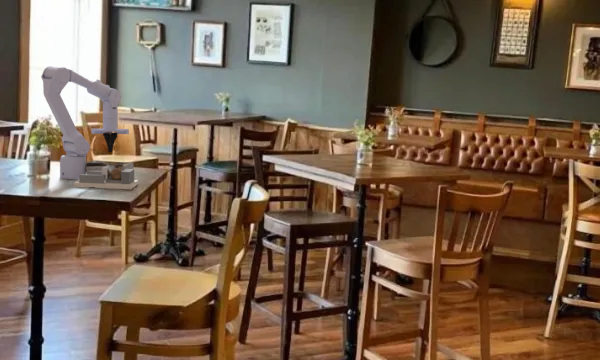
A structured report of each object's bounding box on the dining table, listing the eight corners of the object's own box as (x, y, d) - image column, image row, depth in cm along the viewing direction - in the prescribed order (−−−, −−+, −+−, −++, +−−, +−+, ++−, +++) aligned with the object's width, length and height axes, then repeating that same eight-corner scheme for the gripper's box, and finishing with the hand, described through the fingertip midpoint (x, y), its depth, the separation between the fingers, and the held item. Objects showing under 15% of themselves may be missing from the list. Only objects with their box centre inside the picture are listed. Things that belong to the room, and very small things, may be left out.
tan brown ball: (108, 182, 280) (108, 168, 279) (111, 180, 285) (112, 166, 284) (122, 183, 280) (122, 169, 279) (125, 181, 285) (125, 167, 284)
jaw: (101, 179, 278) (101, 168, 278) (107, 175, 286) (107, 165, 286) (107, 179, 278) (107, 168, 278) (113, 176, 286) (113, 165, 286)
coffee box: (125, 165, 292) (85, 162, 294) (125, 181, 294) (85, 179, 296) (133, 162, 301) (94, 159, 303) (133, 178, 302) (94, 175, 304)
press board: (73, 186, 277) (73, 170, 276) (83, 181, 289) (83, 166, 288) (130, 189, 277) (130, 173, 276) (138, 184, 289) (138, 168, 288)
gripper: (92, 118, 299) (92, 153, 301) (129, 119, 304) (129, 153, 306) (91, 117, 306) (91, 150, 308) (127, 117, 310) (127, 150, 312)
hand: (110, 151), depth 307 cm, fingers closed
